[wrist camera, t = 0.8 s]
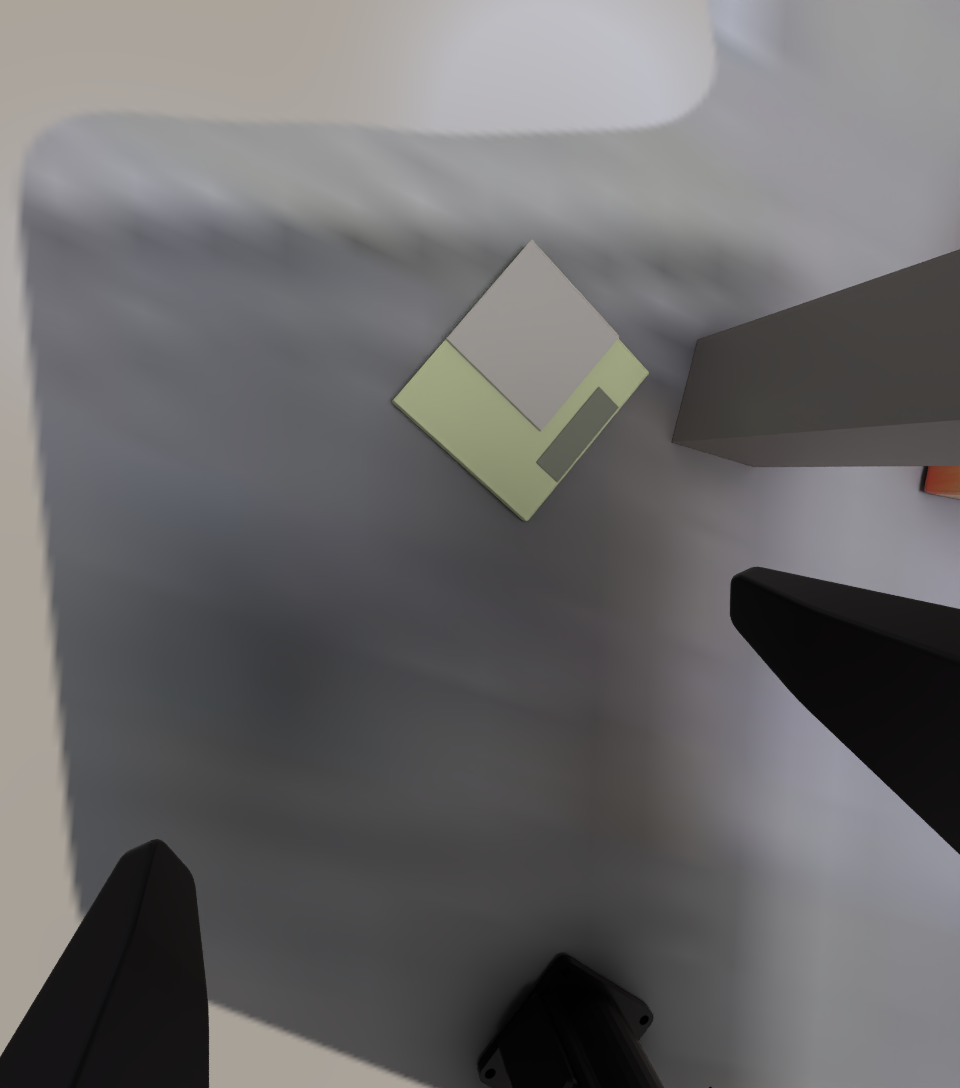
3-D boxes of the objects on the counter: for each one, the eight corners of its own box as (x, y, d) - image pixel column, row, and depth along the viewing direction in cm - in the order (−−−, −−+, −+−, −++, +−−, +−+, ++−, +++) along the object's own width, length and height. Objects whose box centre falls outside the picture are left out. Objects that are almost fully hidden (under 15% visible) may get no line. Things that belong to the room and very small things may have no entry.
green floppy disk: (641, 375, 24) (651, 371, 24) (522, 520, 24) (529, 521, 23) (524, 247, 22) (531, 239, 22) (391, 402, 22) (393, 399, 21)
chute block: (754, 466, 26) (1219, 463, 13) (671, 442, 25) (1090, 409, 11) (780, 369, 26) (1283, 260, 12) (697, 339, 25) (1157, 180, 11)
